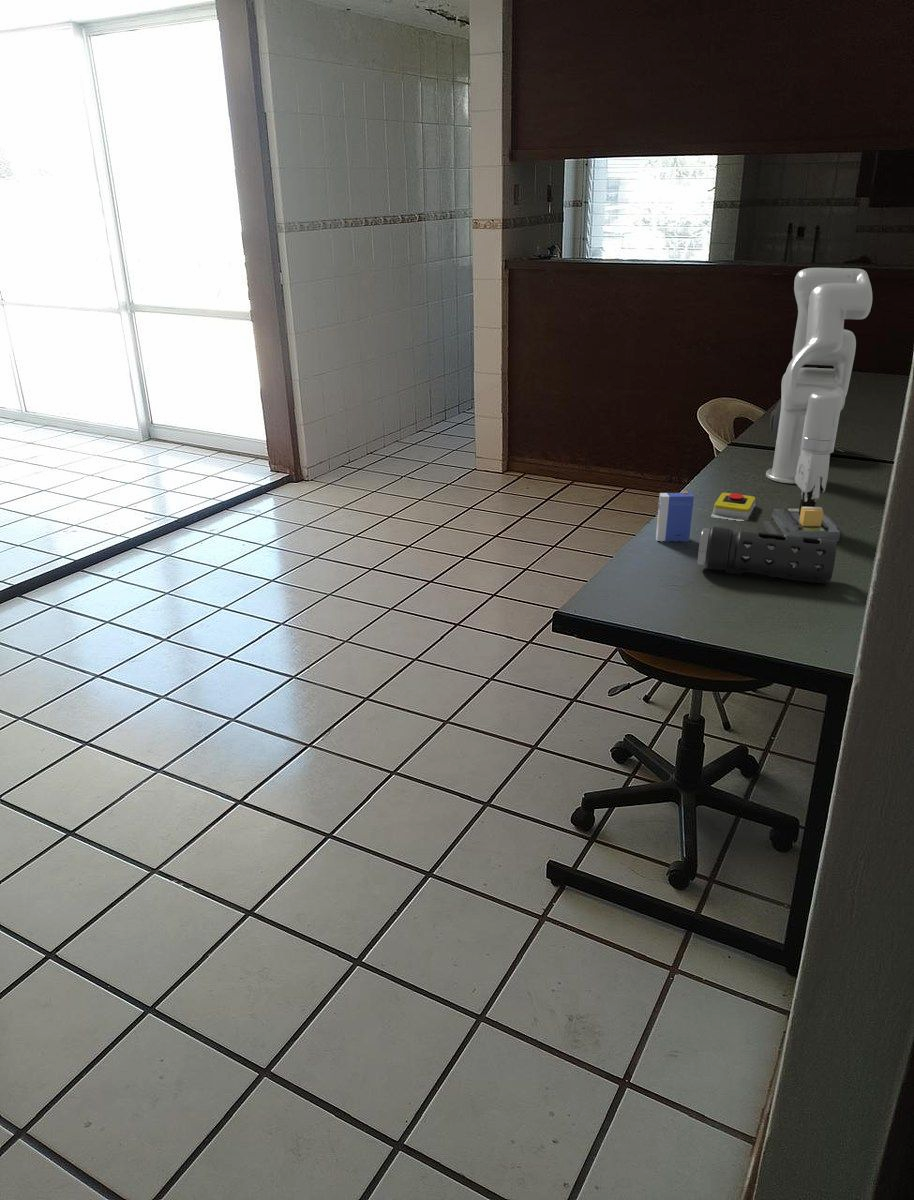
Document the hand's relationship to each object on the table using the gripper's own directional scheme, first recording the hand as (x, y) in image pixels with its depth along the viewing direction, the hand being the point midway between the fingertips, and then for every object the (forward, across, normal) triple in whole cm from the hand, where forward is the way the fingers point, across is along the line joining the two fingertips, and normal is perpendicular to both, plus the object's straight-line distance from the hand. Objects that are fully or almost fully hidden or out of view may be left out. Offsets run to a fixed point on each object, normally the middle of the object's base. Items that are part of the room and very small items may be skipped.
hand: (805, 515), depth 225 cm
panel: (+4, 0, 0) cm, 4 cm away
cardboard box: (+1, +4, 0) cm, 4 cm away
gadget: (+4, -69, +18) cm, 71 cm away
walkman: (+4, +8, -34) cm, 35 cm away
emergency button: (+4, -13, -14) cm, 20 cm away
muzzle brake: (+4, +29, -17) cm, 34 cm away
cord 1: (+4, +5, -9) cm, 11 cm away
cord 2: (+4, -2, +7) cm, 8 cm away
